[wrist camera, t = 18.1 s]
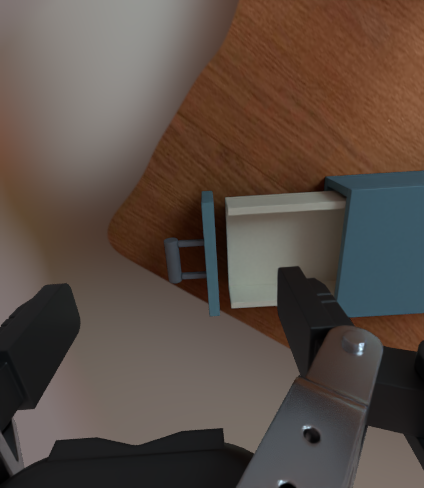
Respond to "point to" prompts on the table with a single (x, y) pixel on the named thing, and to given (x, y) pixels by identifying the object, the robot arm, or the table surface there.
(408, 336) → the table surface
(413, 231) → the cabinet
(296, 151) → the table surface
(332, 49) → the table surface
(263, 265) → the drawer
